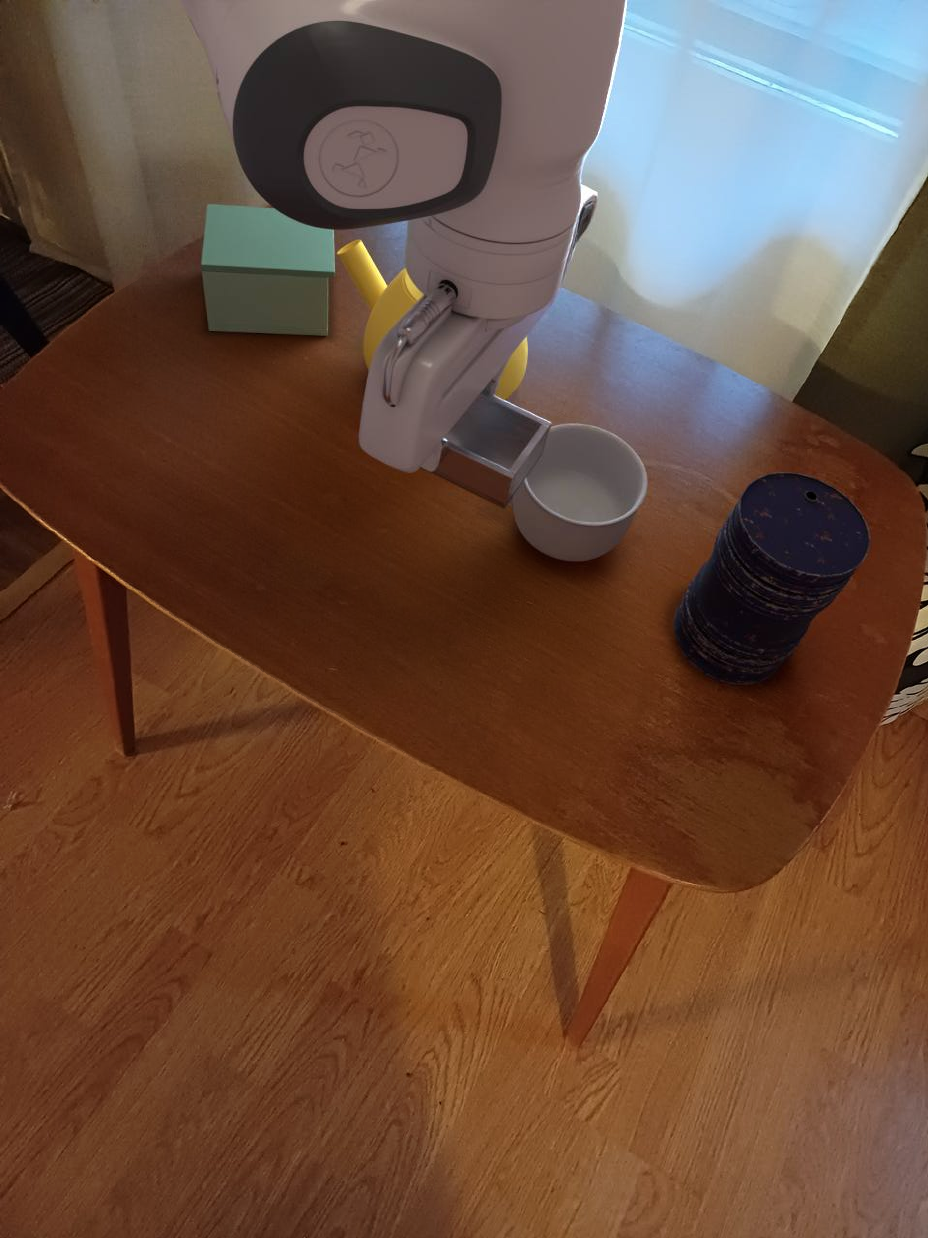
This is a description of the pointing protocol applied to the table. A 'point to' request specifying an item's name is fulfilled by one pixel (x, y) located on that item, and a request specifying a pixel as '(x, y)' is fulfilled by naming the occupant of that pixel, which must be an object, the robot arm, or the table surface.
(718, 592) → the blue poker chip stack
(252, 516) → the table surface
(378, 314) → the teapot
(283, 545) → the table surface
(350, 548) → the table surface
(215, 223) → the lunchbox lid
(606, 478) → the teacup
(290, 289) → the lunchbox
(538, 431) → the open storage tray
